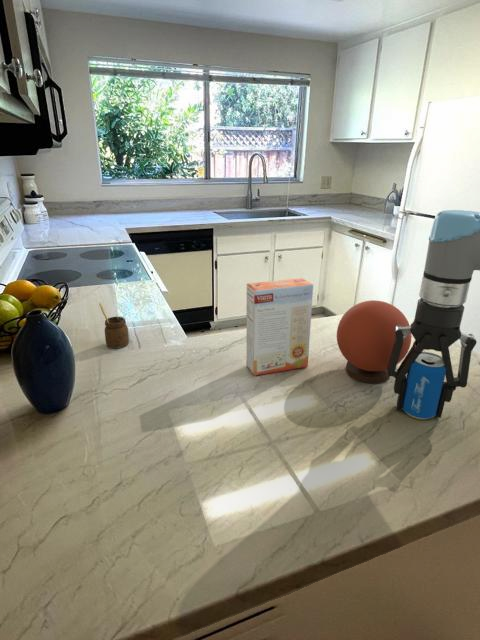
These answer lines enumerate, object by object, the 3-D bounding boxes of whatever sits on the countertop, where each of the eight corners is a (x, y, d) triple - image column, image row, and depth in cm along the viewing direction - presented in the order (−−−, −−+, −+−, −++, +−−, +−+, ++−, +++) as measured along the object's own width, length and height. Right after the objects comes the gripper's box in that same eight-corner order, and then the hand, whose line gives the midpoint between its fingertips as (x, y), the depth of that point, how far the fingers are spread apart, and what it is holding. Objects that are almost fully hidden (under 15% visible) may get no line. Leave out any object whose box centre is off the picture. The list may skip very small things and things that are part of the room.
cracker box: (297, 356, 101) (303, 276, 93) (308, 368, 96) (315, 284, 88) (244, 364, 97) (245, 281, 89) (253, 376, 92) (255, 290, 84)
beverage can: (396, 414, 79) (406, 360, 75) (405, 399, 84) (415, 347, 80) (431, 426, 76) (444, 370, 71) (438, 409, 81) (450, 356, 76)
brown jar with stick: (129, 347, 105) (124, 304, 101) (104, 350, 104) (98, 306, 99) (129, 338, 111) (125, 297, 106) (105, 340, 109) (100, 299, 105)
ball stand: (402, 362, 99) (414, 295, 92) (405, 396, 85) (420, 320, 78) (336, 352, 104) (343, 288, 97) (329, 383, 90) (337, 310, 83)
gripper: (383, 301, 71) (366, 411, 79) (510, 315, 65) (476, 431, 74) (383, 289, 77) (367, 391, 86) (498, 300, 72) (468, 408, 80)
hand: (418, 409), depth 80 cm, fingers closed on beverage can, 6 cm apart
